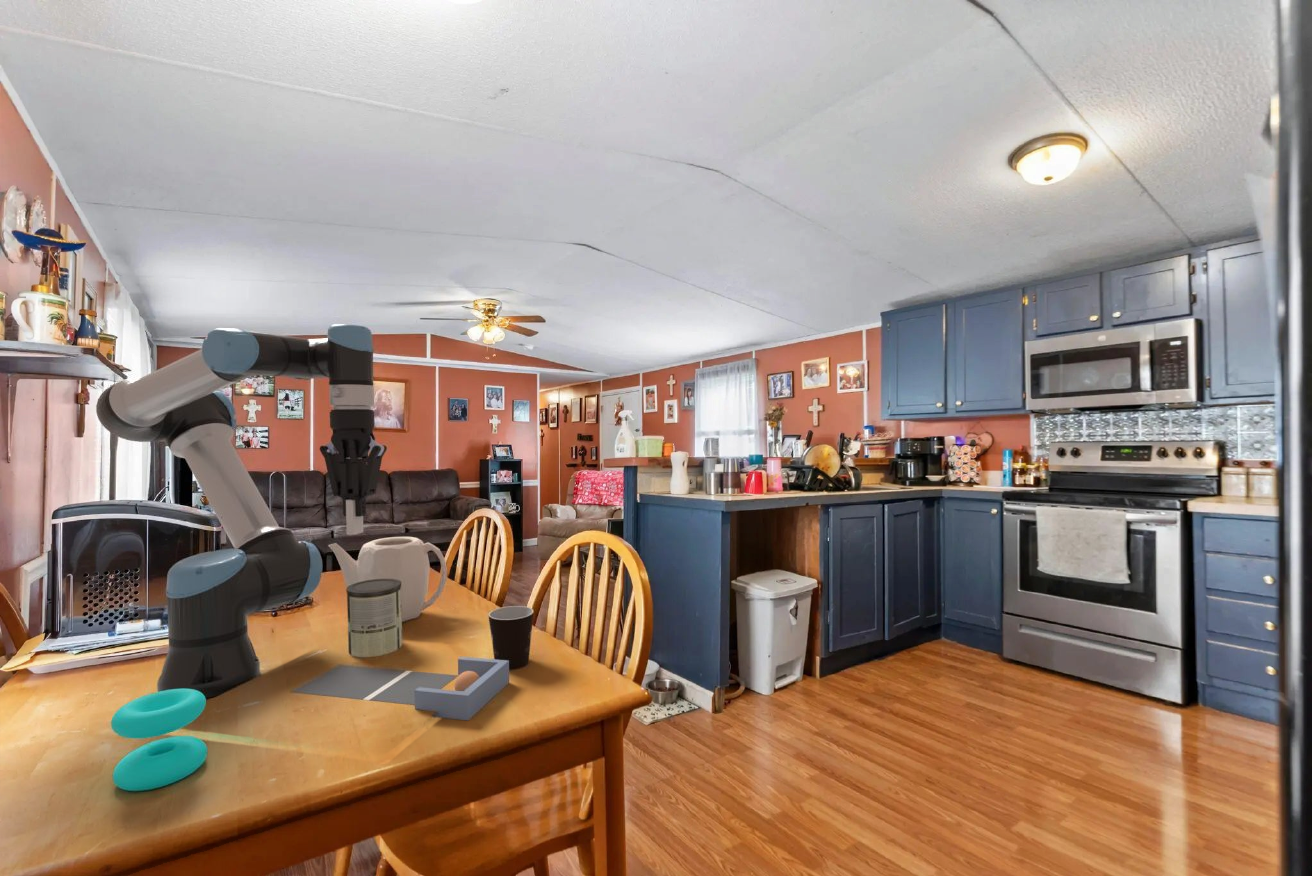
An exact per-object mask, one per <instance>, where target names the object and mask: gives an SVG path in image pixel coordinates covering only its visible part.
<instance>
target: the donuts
mask: <svg viewBox="0 0 1312 876" xmlns="http://www.w3.org/2000/svg"><path fill="white" fill-rule="evenodd" d="M206 705H207V698H205V696H204V695H203V694H202V693H201V692H199V691H197V690H194V689H184V688H183V689H171V690H165V691H160V692H157V691H156V692H152V693H148V694H146V695H143V696H139V697H137V698H135V699H133V700H131V701H129V702H127V703H125V704H123V705H122V706H121V707H120V708H119V709H118V710H116V711H115V713H114V714H113V716H112V718H111V721H110V726H111V729H112V731H113V732H114V733H115V734H117V735H118V736H120V737H123V738H126V739H135V740H136V739H137V740H138V739H139V740H140V739H141V740H142V739H149V738H156V737H159V736H163V735H167V734H170V733H173V732H175V731H176V732H177V730H180V729H182V728H184V727H187V726H188V725H190V724H191V723H193V722H194V721H195V720H196V719H197V718H198V717H200V715H201V714H202V713H203V711H204V710H205V708H206ZM207 755H208V746H207V745H206V743H205V742H204V741H203V740H201V738H197V737H194V736H189V735H176V736H169V737H168V736H167V737H165V738H161V739H157V740H156V739H155V740H154V741H150V742H148V743H145V744H143V745H142V746H139V747H137V748H136V749H134V750H132V751H131V752H129V753H128V754H126V755H125V756H124V757H123V758H122V759H121V760H120V761H119V762H118V763H117V764H116V766H115V768H114V770H113V773H112V780H113V783H114V785H115V786H116V787H118V788H119V789H121V790H124V791H129V792H139V791H141V792H142V791H143V792H144V791H149V790H154V789H159V788H162V787H165V786H168V785H170V784H174V783H176V782H179V781H180V780H182V779H184V778H186V777H188V776H190V775H191V774H193V773H194V772H195V771H197V770H198V769H199V768H200V767H201V766H202V765H203V764H204V762H205V761H206V759H207Z"/></svg>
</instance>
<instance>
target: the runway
mask: <svg viewBox="0 0 1312 876" xmlns="http://www.w3.org/2000/svg"><path fill="white" fill-rule="evenodd" d="M457 677H458V674H450V673H449V674H447V673H437V672H436V673H434V672H426V671H416V670H415V671H414V670H404V669H393V668H391V669H390V668H383V667H382V668H381V667H372V666H371V667H370V666H360V665H358V666H357V665H349V664H348V665H347V664H339V665H337V666H335V667H333V668H331V669H329V670H327V671H326V672H323V673H322V674H320V675H319V676H316V677H315V678H313V679H311V680H309V681H307V682H306V683H303V684H301V685H300V686H298V687H296V688H295V689H292V690H291V691H290V693H293V694H294V693H296V694H305V695H314V696H315V695H316V696H324V697H333V698H335V697H336V698H341V699H342V698H344V699H352V700H363V701H370V702H371V701H372V702H383V703H391V704H400V705H410V706H411V705H412V706H415V692H414V690H416V689H417V688H418V687H422V688H432V689H443V688H445V686H447V685H448V684H449V683H451V682H452V681H453V680H454V679H455V680H456V679H457Z"/></svg>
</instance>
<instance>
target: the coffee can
mask: <svg viewBox="0 0 1312 876" xmlns="http://www.w3.org/2000/svg"><path fill="white" fill-rule="evenodd" d="M345 591H346V601H347V602H346V604H347V637H348V641H347V642H348V646H347V647H348V654H349V655H350V656H352V657H354V658H373V657H381V656H384V655H388V654H391V653H393V652H396V651H398V650H399V649H400V648H401V647H403V628H402V627H403V625H402V623H403V622H402V619H401V581H399V580H396V579H373V580H366V581H361V582H357V583H354V584H352V585H350V586H348V587H346V589H345Z"/></svg>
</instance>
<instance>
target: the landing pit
mask: <svg viewBox="0 0 1312 876" xmlns="http://www.w3.org/2000/svg"><path fill="white" fill-rule="evenodd" d="M466 671H473V672H475V673H477V674H478V675H479V677H480V678H479V679H478V680H477V681H475V682H474V683H473V684H472V685H471V686H469V687H468V688H467V689H466V690H464V691H455V690H454V689H443V688H441V689H432V688H422V687H418V688H417V689H416V690H414V692H415V705H414V710H422V711H429V712H431V711H432V712H434V713H433V714H432V715H431V716H430V717H433V718H442V719H449V720H459V721H460V720H461V721H469V720H471V719H472V718H473V717H475V715H476V714H477V713H478V712H479V711H481V710H482V708H483V707H485V706H486V705H487V704H488V703H489V702H490V701H491V700H492V699H493V698H494V697H495V696H496V695H498V693H500V692H501V691H502V690H503V689H504V688H505V687H506V686H507V685H508V684H509V683H510V670H509V661H507V660H495V659H494V658H481V657H480V658H479V657H469V656H460V657H458V658H457V675H458V676H459V675H460V674H461V673H463V672H466ZM458 676H457V677H458Z"/></svg>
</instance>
